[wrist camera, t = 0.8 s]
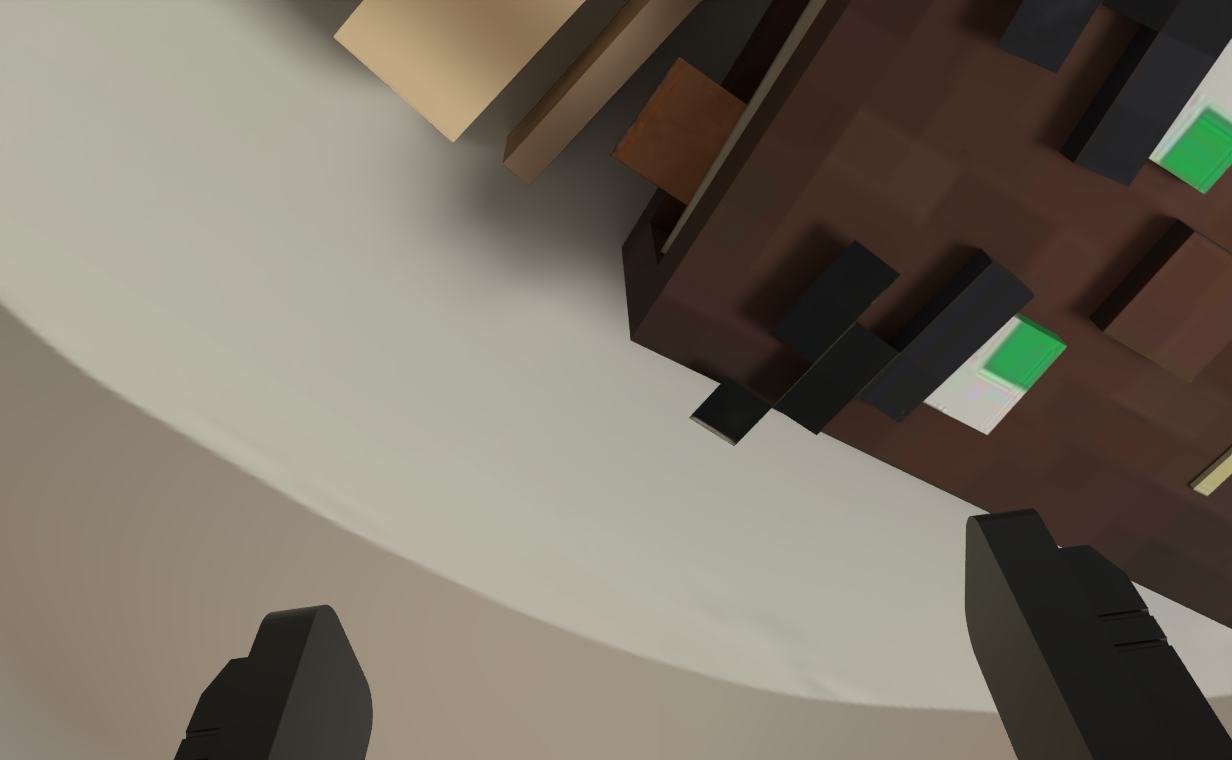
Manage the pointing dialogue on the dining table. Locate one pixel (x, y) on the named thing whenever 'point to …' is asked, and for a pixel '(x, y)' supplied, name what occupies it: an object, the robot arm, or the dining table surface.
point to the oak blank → (451, 50)
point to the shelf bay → (591, 83)
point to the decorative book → (967, 256)
